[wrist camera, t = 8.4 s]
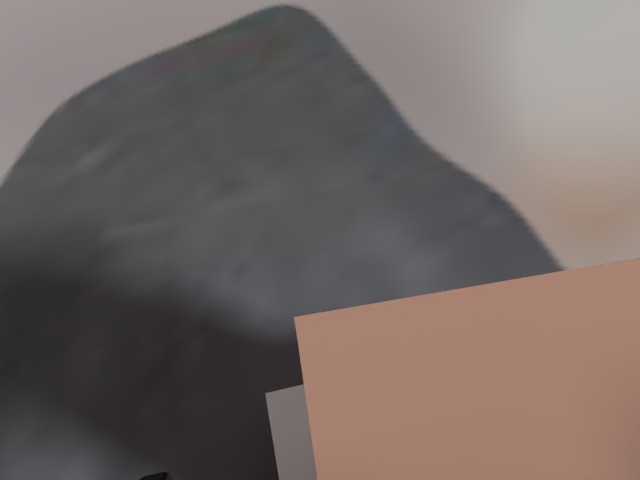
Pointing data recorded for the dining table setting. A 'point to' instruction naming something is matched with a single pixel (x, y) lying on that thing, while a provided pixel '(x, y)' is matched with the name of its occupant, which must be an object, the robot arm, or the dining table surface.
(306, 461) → the top slab
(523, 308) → the pillar
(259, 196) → the dining table surface
